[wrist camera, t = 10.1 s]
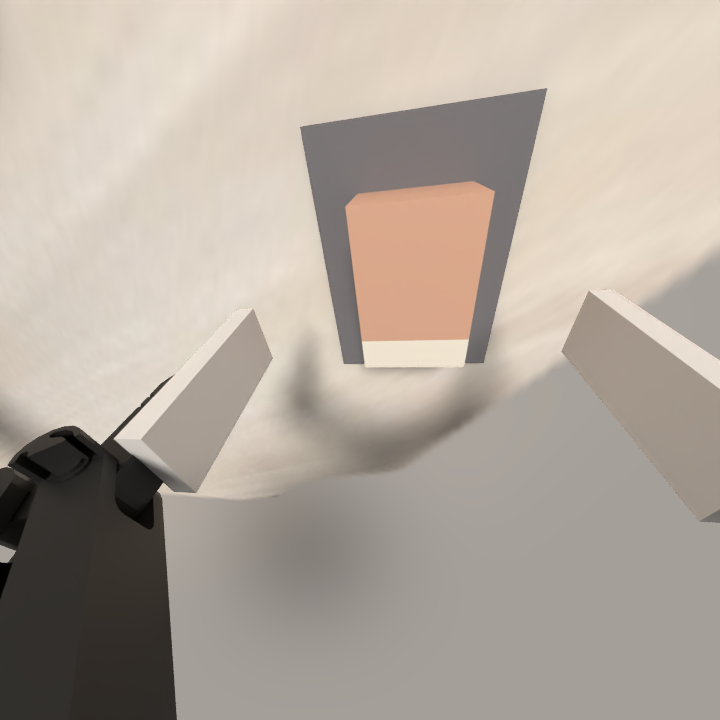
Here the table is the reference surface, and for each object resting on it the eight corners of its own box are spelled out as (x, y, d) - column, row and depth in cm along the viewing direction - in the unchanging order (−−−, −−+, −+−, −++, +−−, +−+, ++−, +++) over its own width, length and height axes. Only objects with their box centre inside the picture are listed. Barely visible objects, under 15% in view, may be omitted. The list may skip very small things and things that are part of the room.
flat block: (357, 193, 14) (345, 206, 11) (473, 181, 13) (494, 191, 10) (370, 333, 20) (365, 367, 17) (453, 331, 19) (464, 367, 16)
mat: (344, 360, 23) (343, 363, 22) (302, 127, 13) (300, 127, 13) (482, 359, 21) (483, 363, 20) (543, 89, 12) (547, 88, 11)
